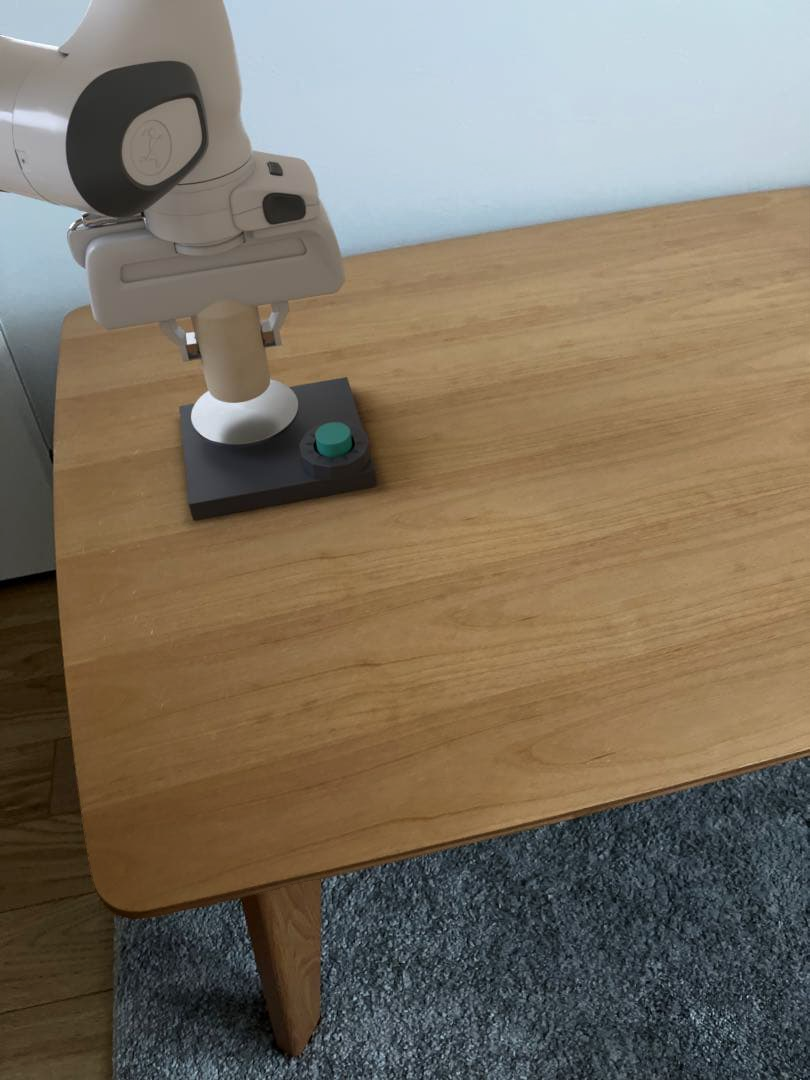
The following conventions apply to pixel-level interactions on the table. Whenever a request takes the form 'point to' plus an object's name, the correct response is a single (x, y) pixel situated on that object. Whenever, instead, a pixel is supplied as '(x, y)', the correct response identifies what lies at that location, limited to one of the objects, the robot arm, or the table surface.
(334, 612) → the table surface
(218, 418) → the silver metal disc
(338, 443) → the button
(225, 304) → the candle
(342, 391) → the scale
